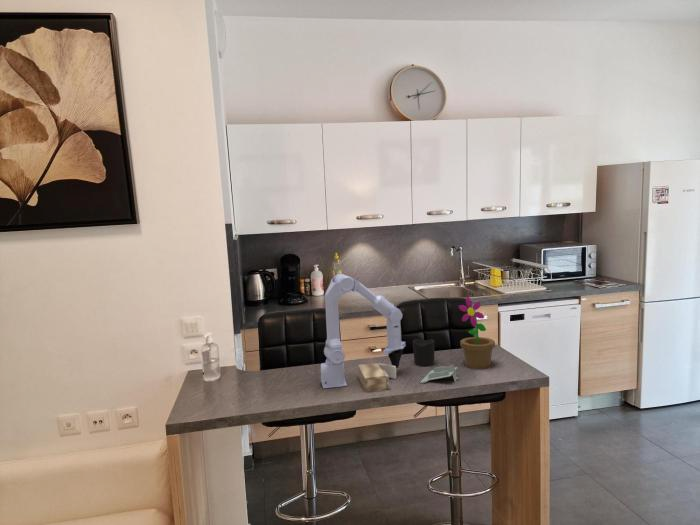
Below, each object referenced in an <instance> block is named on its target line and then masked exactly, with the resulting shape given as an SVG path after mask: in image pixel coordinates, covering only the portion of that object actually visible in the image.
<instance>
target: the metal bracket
mask: <svg viewBox="0 0 700 525" xmlns="http://www.w3.org/2000/svg"><path fill="white" fill-rule="evenodd" d="M456 370H458V366H457V367H456V366H454V365H453V364H450V365H449V366H437V367H434V368H433V369H431V370H430V371H429V372H428V373H427V375H425V376H424V377H423V378H422V379H421V380H422V381H421V380H420V381H421V382H420V381H419V382H420V383H419V384H425V383H428V382H429V381H432V380H438V379H444V378H449V377H451V376H452V378H453V381H454V382H457V381H458V380H459V378H460V377H459V376H457V372H456Z"/></svg>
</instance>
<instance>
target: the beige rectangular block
mask: <svg viewBox="0 0 700 525" xmlns="http://www.w3.org/2000/svg"><path fill="white" fill-rule="evenodd" d="M357 366H358V380H359V381H360V383H361V385H362V387H363V389H364V391H365V392H366V393H371V392H379V391H387V390H390V380H391V378H390V377H389V375H388V374H387V373H386V371H385V370H382V369H381V368H380V366H379V363H376V362H375V363H366V364H358V365H357Z"/></svg>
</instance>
